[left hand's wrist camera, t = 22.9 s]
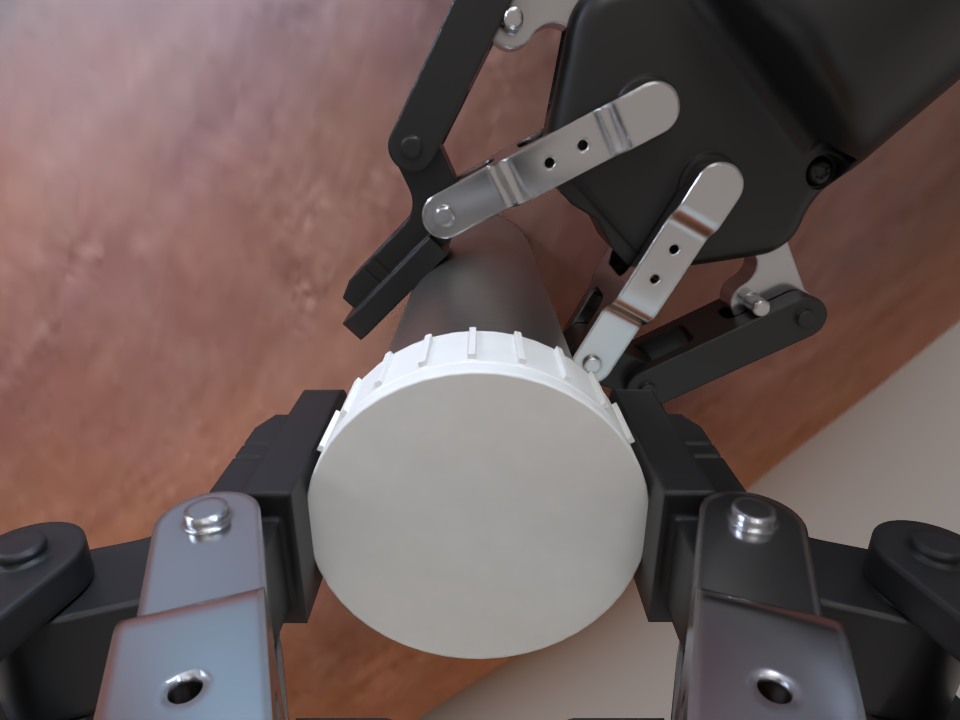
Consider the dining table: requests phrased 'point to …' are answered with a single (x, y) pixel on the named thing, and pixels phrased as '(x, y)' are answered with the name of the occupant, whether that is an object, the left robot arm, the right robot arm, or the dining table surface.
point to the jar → (482, 291)
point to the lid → (477, 497)
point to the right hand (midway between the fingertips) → (418, 377)
